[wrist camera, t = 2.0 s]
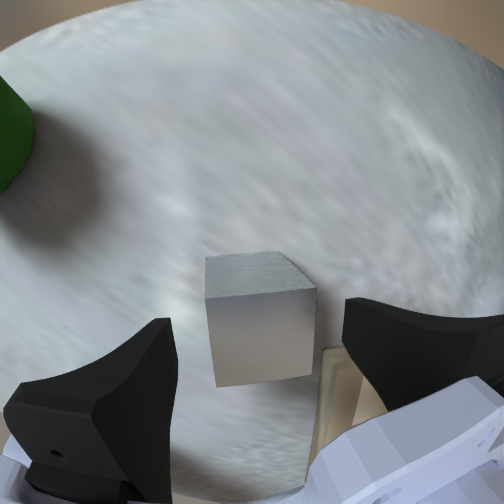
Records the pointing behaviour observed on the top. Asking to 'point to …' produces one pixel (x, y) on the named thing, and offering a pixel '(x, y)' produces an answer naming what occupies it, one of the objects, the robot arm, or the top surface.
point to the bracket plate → (341, 399)
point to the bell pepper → (13, 134)
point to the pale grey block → (258, 318)
